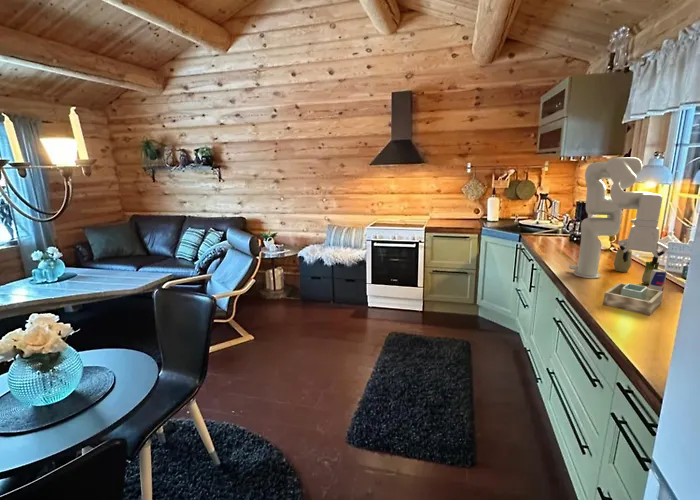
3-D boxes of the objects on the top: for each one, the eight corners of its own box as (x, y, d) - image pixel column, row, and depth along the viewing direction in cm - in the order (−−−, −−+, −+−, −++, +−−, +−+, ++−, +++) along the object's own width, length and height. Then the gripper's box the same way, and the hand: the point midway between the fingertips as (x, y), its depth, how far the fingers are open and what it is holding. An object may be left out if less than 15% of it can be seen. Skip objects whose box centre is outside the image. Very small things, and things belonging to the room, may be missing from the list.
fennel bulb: (655, 284, 192) (659, 261, 189) (655, 286, 188) (660, 263, 185) (640, 282, 195) (644, 259, 192) (641, 284, 191) (645, 261, 188)
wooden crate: (602, 304, 165) (604, 292, 164) (617, 293, 178) (618, 282, 177) (649, 315, 153) (651, 302, 152) (661, 303, 166) (663, 291, 165)
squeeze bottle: (630, 273, 209) (636, 241, 205) (612, 271, 213) (617, 240, 209) (629, 270, 216) (634, 239, 212) (612, 268, 220) (617, 237, 216)
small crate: (619, 302, 165) (621, 288, 163) (626, 296, 171) (628, 283, 170) (639, 306, 160) (641, 292, 158) (645, 301, 166) (647, 286, 165)
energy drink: (658, 298, 172) (663, 273, 169) (644, 294, 177) (649, 270, 174) (664, 296, 174) (669, 271, 172) (650, 293, 179) (655, 268, 176)
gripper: (618, 222, 162) (612, 261, 166) (670, 227, 149) (662, 269, 153) (624, 220, 166) (617, 258, 170) (674, 225, 154) (666, 266, 158)
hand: (639, 263), depth 162 cm, fingers open, 9 cm apart
